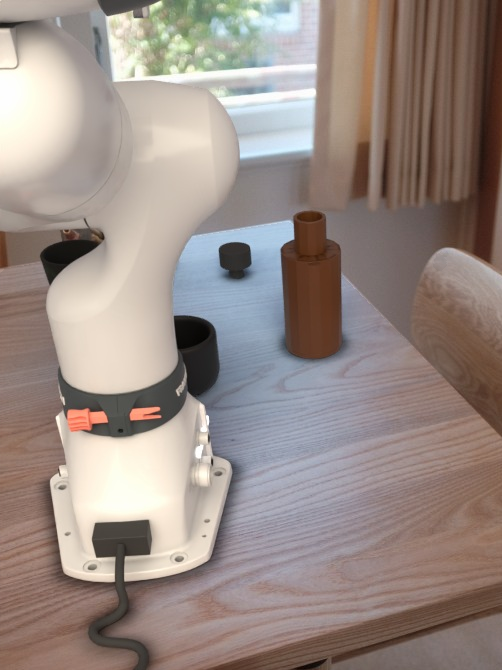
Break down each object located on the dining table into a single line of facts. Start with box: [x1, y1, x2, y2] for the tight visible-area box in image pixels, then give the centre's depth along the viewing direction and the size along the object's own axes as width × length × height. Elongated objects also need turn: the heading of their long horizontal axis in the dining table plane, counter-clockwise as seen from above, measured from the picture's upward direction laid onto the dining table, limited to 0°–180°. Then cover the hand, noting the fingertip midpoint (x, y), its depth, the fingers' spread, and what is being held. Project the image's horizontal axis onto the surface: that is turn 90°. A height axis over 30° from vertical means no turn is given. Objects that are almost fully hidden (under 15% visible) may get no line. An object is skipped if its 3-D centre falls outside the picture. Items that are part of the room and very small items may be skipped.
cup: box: [39, 239, 100, 287], centre depth 115 cm, size 8×8×12 cm
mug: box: [174, 314, 221, 397], centre depth 107 cm, size 12×9×7 cm
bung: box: [218, 241, 253, 280], centre depth 132 cm, size 5×5×4 cm
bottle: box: [279, 210, 343, 360], centre depth 112 cm, size 7×7×17 cm
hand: (93, 16), depth 89 cm, fingers open, 8 cm apart
